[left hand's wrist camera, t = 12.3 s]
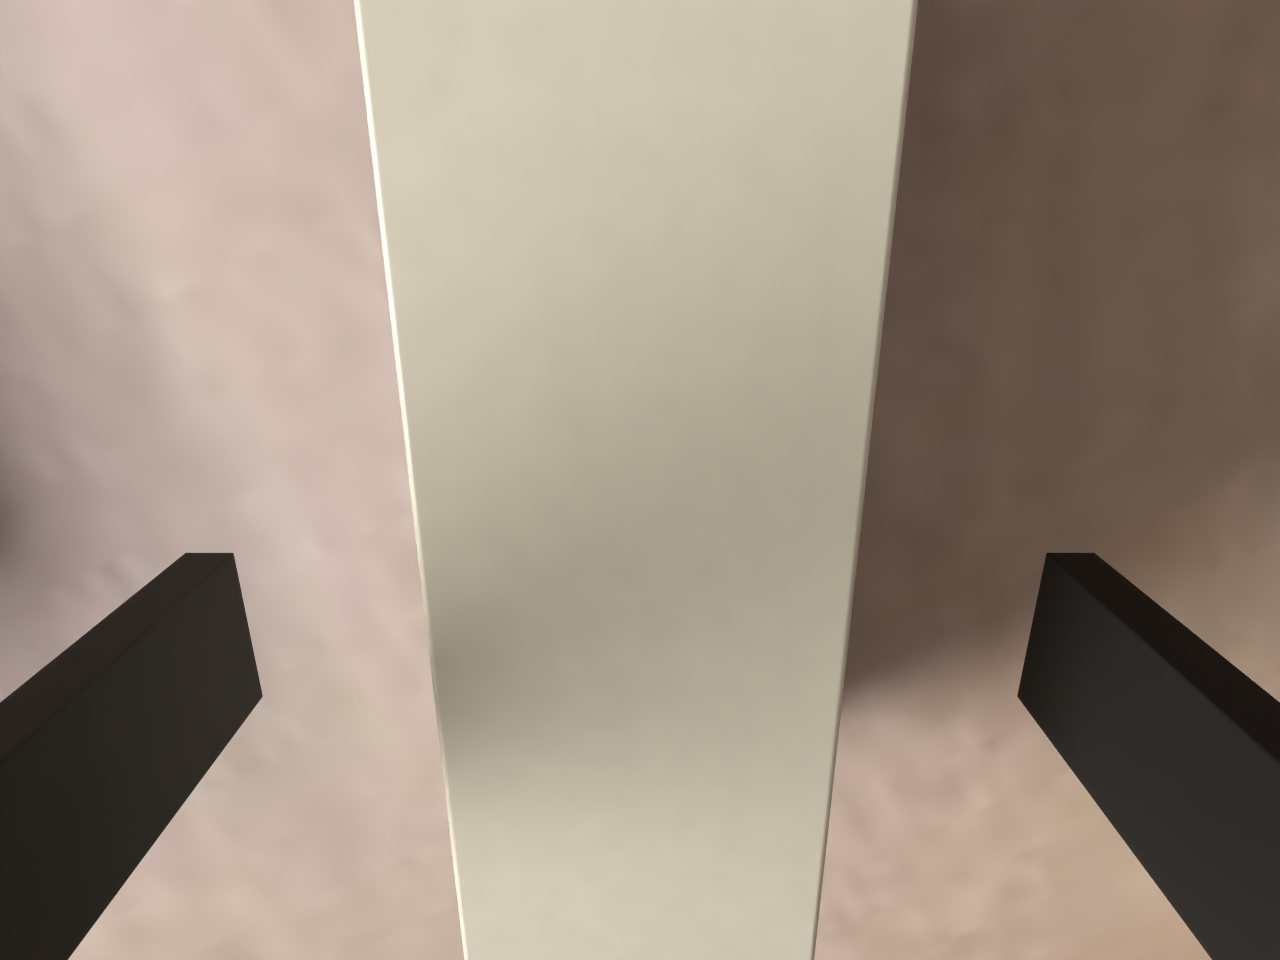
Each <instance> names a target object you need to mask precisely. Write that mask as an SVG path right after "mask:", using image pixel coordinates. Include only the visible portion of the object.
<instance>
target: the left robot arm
mask: <svg viewBox="0 0 1280 960" xmlns="http://www.w3.org/2000/svg"><path fill="white" fill-rule="evenodd" d="M261 698H262V691H261V686H260V681H259V676H258V671H257V666H256V662H255V657H254V652H253V647H252V642H251V637H250V632H249V627H248V622H247V617H246V613H245V608H244V603H243V598H242V593H241V588H240V583H239V578H238V573H237V568H236V564H235V559H234V554H233V553H185V554H184V555H183V556H181V557H180V558H179V559H178V560H176V561H175V562H174V563H173V564H172V565H170V566H169V567H168V568H167V569H165V570H164V571H163V572H162V573H160V574H159V575H158V576H157V577H155V578H154V579H153V580H152V581H150V582H149V583H148V584H147V585H145V586H144V587H143V588H142V589H141V590H139V591H138V592H137V593H136V594H134V595H133V596H132V597H131V598H129V599H128V600H127V601H126V602H124V603H123V604H122V605H121V606H119V607H118V608H117V609H116V610H115V611H113V612H112V613H111V614H110V615H108V616H107V617H106V618H105V619H103V620H102V621H101V622H100V623H98V624H97V625H96V626H95V627H93V628H92V629H91V630H90V631H88V632H87V633H86V634H85V635H84V636H82V637H81V638H80V639H79V640H77V641H76V642H75V643H74V644H72V645H71V646H70V647H69V648H67V649H66V650H65V651H64V652H62V653H61V654H60V655H59V656H58V657H56V658H55V659H54V660H53V661H51V662H50V663H49V664H48V665H46V666H45V667H44V668H43V669H41V670H40V671H39V672H38V673H36V674H35V675H34V676H33V677H31V678H30V679H29V680H28V681H27V682H25V683H24V684H23V685H22V686H20V687H19V688H18V689H17V690H15V691H14V692H13V693H12V694H10V695H9V696H8V697H7V698H5V699H4V700H3V701H2V702H0V960H68V959H69V957H70V956H71V955H72V953H73V952H74V951H75V949H76V948H77V946H78V945H79V944H80V942H81V941H82V940H83V938H84V937H85V936H86V934H87V933H88V932H89V930H90V929H91V928H92V926H93V925H94V923H95V922H96V921H97V919H98V918H99V917H100V915H101V914H102V913H103V911H104V910H105V909H106V907H107V906H108V905H109V903H110V902H111V901H112V899H113V898H114V896H115V895H116V894H117V892H118V891H119V890H120V888H121V887H122V886H123V884H124V883H125V882H126V880H127V879H128V878H129V876H130V875H131V873H132V872H133V871H134V869H135V868H136V867H137V865H138V864H139V863H140V861H141V860H142V859H143V857H144V856H145V855H146V853H147V852H148V851H149V849H150V848H151V846H152V845H153V844H154V842H155V841H156V840H157V838H158V837H159V836H160V834H161V833H162V832H163V830H164V829H165V828H166V826H167V825H168V823H169V822H170V821H171V819H172V818H173V817H174V815H175V814H176V813H177V811H178V810H179V809H180V807H181V806H182V805H183V803H184V802H185V801H186V799H187V798H188V796H189V795H190V794H191V792H192V791H193V790H194V788H195V787H196V786H197V784H198V783H199V782H200V780H201V779H202V778H203V776H204V775H205V774H206V772H207V771H208V769H209V768H210V767H211V765H212V764H213V763H214V761H215V760H216V759H217V757H218V756H219V755H220V753H221V752H222V751H223V749H224V748H225V746H226V745H227V744H228V742H229V741H230V740H231V738H232V737H233V736H234V734H235V733H236V732H237V730H238V729H239V728H240V726H241V725H242V724H243V722H244V721H245V719H246V718H247V717H248V715H249V714H250V713H251V711H252V710H253V709H254V707H255V706H256V705H257V703H258V702H259V701H260V699H261ZM1018 698H1019V699H1020V701H1021V702H1022V703H1023V705H1024V706H1025V707H1026V709H1027V710H1028V711H1029V713H1030V714H1031V715H1032V717H1033V718H1034V719H1035V721H1036V722H1037V724H1038V725H1039V726H1040V728H1041V729H1042V730H1043V732H1044V733H1045V734H1046V736H1047V737H1048V738H1049V740H1050V741H1051V742H1052V744H1053V745H1054V746H1055V748H1056V749H1057V751H1058V752H1059V753H1060V755H1061V756H1062V757H1063V759H1064V760H1065V761H1066V763H1067V764H1068V765H1069V767H1070V768H1071V769H1072V771H1073V772H1074V774H1075V775H1076V776H1077V778H1078V779H1079V780H1080V782H1081V783H1082V784H1083V786H1084V787H1085V788H1086V790H1087V791H1088V792H1089V794H1090V795H1091V796H1092V798H1093V799H1094V801H1095V802H1096V803H1097V805H1098V806H1099V807H1100V809H1101V810H1102V811H1103V813H1104V814H1105V815H1106V817H1107V818H1108V819H1109V821H1110V822H1111V824H1112V825H1113V826H1114V828H1115V829H1116V830H1117V832H1118V833H1119V834H1120V836H1121V837H1122V838H1123V840H1124V841H1125V842H1126V844H1127V845H1128V846H1129V848H1130V849H1131V851H1132V852H1133V853H1134V855H1135V856H1136V857H1137V859H1138V860H1139V861H1140V863H1141V864H1142V865H1143V867H1144V868H1145V869H1146V871H1147V872H1148V873H1149V875H1150V876H1151V878H1152V879H1153V880H1154V882H1155V883H1156V884H1157V886H1158V887H1159V888H1160V890H1161V891H1162V892H1163V894H1164V895H1165V896H1166V898H1167V899H1168V901H1169V902H1170V903H1171V905H1172V906H1173V907H1174V909H1175V910H1176V911H1177V913H1178V914H1179V915H1180V917H1181V918H1182V919H1183V921H1184V922H1185V923H1186V925H1187V926H1188V928H1189V929H1190V930H1191V932H1192V933H1193V934H1194V936H1195V937H1196V938H1197V940H1198V941H1199V942H1200V944H1201V945H1202V946H1203V948H1204V949H1205V951H1206V952H1207V953H1208V955H1209V956H1210V957H1211V959H1212V960H1280V702H1278V701H1277V700H1276V699H1275V698H1273V697H1272V696H1271V695H1270V694H1268V693H1267V692H1266V691H1265V690H1263V689H1262V688H1261V687H1260V686H1258V685H1257V684H1256V683H1255V682H1253V681H1252V680H1251V679H1250V678H1249V677H1247V676H1246V675H1245V674H1244V673H1242V672H1241V671H1240V670H1239V669H1237V668H1236V667H1235V666H1234V665H1232V664H1231V663H1230V662H1229V661H1227V660H1226V659H1225V658H1224V657H1222V656H1221V655H1220V654H1219V653H1218V652H1216V651H1215V650H1214V649H1213V648H1211V647H1210V646H1209V645H1208V644H1206V643H1205V642H1204V641H1203V640H1201V639H1200V638H1199V637H1198V636H1196V635H1195V634H1194V633H1193V632H1192V631H1190V630H1189V629H1188V628H1187V627H1185V626H1184V625H1183V624H1182V623H1180V622H1179V621H1178V620H1177V619H1175V618H1174V617H1173V616H1172V615H1170V614H1169V613H1168V612H1167V611H1165V610H1164V609H1163V608H1162V607H1161V606H1159V605H1158V604H1157V603H1156V602H1154V601H1153V600H1152V599H1151V598H1149V597H1148V596H1147V595H1146V594H1144V593H1143V592H1142V591H1141V590H1139V589H1138V588H1137V587H1136V586H1135V585H1133V584H1132V583H1131V582H1130V581H1128V580H1127V579H1126V578H1125V577H1123V576H1122V575H1121V574H1120V573H1118V572H1117V571H1116V570H1115V569H1113V568H1112V567H1111V566H1110V565H1108V564H1107V563H1106V562H1105V561H1104V560H1102V559H1101V558H1100V557H1099V556H1097V555H1096V554H1095V553H1047V554H1046V559H1045V564H1044V568H1043V573H1042V578H1041V583H1040V588H1039V593H1038V598H1037V603H1036V608H1035V613H1034V617H1033V622H1032V627H1031V632H1030V637H1029V642H1028V647H1027V652H1026V657H1025V662H1024V666H1023V671H1022V676H1021V681H1020V686H1019V691H1018Z"/></svg>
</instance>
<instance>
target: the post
mask: <svg viewBox="0 0 1280 960" xmlns="http://www.w3.org/2000/svg"><path fill="white" fill-rule="evenodd" d="M354 5H355V14H356V23H357V31H358V40H359V49H360V57H361V66H362V75H363V83H364V92H365V101H366V109H367V118H368V127H369V135H370V144H371V153H372V161H373V170H374V179H375V187H376V196H377V205H378V213H379V222H380V231H381V239H382V248H383V257H384V265H385V274H386V283H387V291H388V300H389V309H390V317H391V326H392V335H393V343H394V352H395V361H396V369H397V378H398V387H399V395H400V404H401V413H402V421H403V430H404V439H405V448H406V456H407V465H408V474H409V482H410V491H411V500H412V508H413V517H414V526H415V534H416V543H417V552H418V560H419V569H420V578H421V586H422V595H423V604H424V612H425V621H426V630H427V638H428V647H429V656H430V664H431V673H432V682H433V690H434V699H435V708H436V716H437V725H438V734H439V742H440V751H441V760H442V768H443V777H444V786H445V794H446V803H447V812H448V820H449V829H450V838H451V846H452V855H453V864H454V872H455V881H456V890H457V898H458V907H459V916H460V924H461V933H462V942H463V950H464V959H465V960H814V955H815V946H816V936H817V927H818V918H819V909H820V900H821V891H822V881H823V872H824V863H825V854H826V845H827V835H828V826H829V817H830V808H831V799H832V790H833V780H834V771H835V762H836V753H837V744H838V734H839V725H840V716H841V707H842V698H843V689H844V679H845V670H846V661H847V652H848V643H849V634H850V624H851V615H852V606H853V597H854V588H855V578H856V569H857V560H858V551H859V542H860V533H861V523H862V514H863V505H864V496H865V487H866V477H867V468H868V459H869V450H870V441H871V432H872V422H873V413H874V404H875V395H876V386H877V376H878V367H879V358H880V349H881V340H882V331H883V321H884V312H885V303H886V294H887V285H888V276H889V266H890V257H891V248H892V239H893V230H894V220H895V211H896V202H897V193H898V184H899V175H900V165H901V156H902V147H903V138H904V129H905V119H906V110H907V101H908V92H909V83H910V74H911V64H912V55H913V46H914V37H915V28H916V19H917V9H918V0H354Z"/></svg>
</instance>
